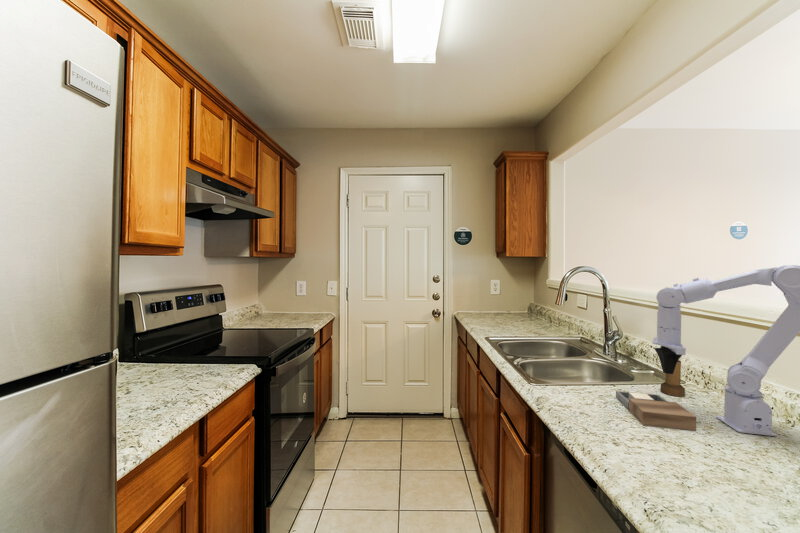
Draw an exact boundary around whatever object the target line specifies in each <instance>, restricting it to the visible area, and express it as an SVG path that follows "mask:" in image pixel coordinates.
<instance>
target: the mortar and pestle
mask: <svg viewBox="0 0 800 533" xmlns="http://www.w3.org/2000/svg"><path fill="white" fill-rule="evenodd" d="M681 367H682V361H681V360H680V359H679V360H678V362H677V364H676V367H675V370H674V373H673V374H665V381H664V382H662V383H661V384H660V392H661V393H663V394H665V395H668V396H673V397H678V398H679V397H680V398H683V397H685V395H686V388H685V387H684V386H683V385H682V384H681V372H682V368H681Z"/></svg>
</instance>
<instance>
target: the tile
mask: <svg viewBox="0 0 800 533" xmlns="http://www.w3.org/2000/svg"><path fill="white" fill-rule="evenodd" d="M628 392H629V391H628ZM630 392H631V391H630ZM630 392H629V398H632V399H643V400H654V399H652V398H651V397H650V396H649V395H647V394H648V393H644V394H641V393H642V392H633V393H630Z"/></svg>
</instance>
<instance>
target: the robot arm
mask: <svg viewBox="0 0 800 533" xmlns="http://www.w3.org/2000/svg"><path fill="white" fill-rule="evenodd" d="M772 284H774V286H776V287H777V289H779V290H780V291H781V292H782V293H783V296H784V298H785V300H786V302H787V304H788V305H787V307H786V308H785V309H784V310H783V312H782V313H781V314H780V315H779V316H778V318H777V319H776V320H775V321H774V323H773V324H772V325H771V326H770V327H769V328H768V330H767V331H766V332H765V334H763V336H761V338H760V339H759V341H758V342H757V343H756V344H755V345H754V346H753V348H752V349H751V350H750V352H749V353H748V354H747V355H745V356H744V357H743V358H742V359H741V360H740V361H739V362H738V363H736V364H733V365H731V366H729V367H728V369H727V378H726V382H727V385H725V386H724V407H723V408H724V409H723V410H724V412H723V413H724V415H716V416H715V418H717V419H718V420H720V421H721V422H723V423H724V424H726V425H727V426H728V427H730V428H732V429H733V430H735V431H736V432H738V433H744V434H751V435H752V434H753V435H761V436H762V435H764V436H770V437H771V436H772V437H776V436H777V434H776V433H775V432H773V410H772V407H771V406H770V405H769V404H768V403H767V402H766V401H765V400H764V398H763V392H762V391H760V390H761V388H762V380H763V379H764V377H765V376H766V374H767V373H768V371H769V369H770V367H771V366H772V365H773V364H774V363H775V361H776V360H777V359H778V358H779V357H780V355H782V354H783V353H784V351H785V350H786V348H788V346H789V345H790V344H791V343H792V342H793V340H794V339H795V338H796V337H797V336H798V335H799V333H800V265H797V264H796V265H795V264H787V265H782V266H778V267H775V266H774V267H769V268H760V269H754V270H750V271H747V272H742V273H739V274H735V275H732V276H728V277H724V278H721V279H716V280H713V281H712V280H710V279H708V278H701V279H700V278H699V277H697V278H696V277H695V278H692V281H689V282H684V283H680V284H678V283H674V284H673V287H668V286H666V287H665V288H662V289H660V290H659V291H657V293H656V301H657V303H658V305H657V312H656V313H657V314H656V315H657V316H656V317H657V318H656V320H657V321H656V337H653V340H652V344H653V345H658V346H660V347H655V348H654V351H655V352H656V354H657V356H658V358H659V362H660V366H661V370H662V373H663V374H665V375H666V374H673V373H674V370H675V367H676V364H677V362H678V360H680V358H682V356H687V355H686V352H687V351H686V347H684V346H683V344H682V312H681V309H682V308H681V307H682V305H681V304H682V303H683V304H686V305H687V304H691V303H696V302H700V301H704V300H705V301H706V300H708V299H713V298H714V297H715V295H716V294H717V292H722V291H726V290H731V289H732V290H733V289H736V288H737V289H738V288H742V287H746V286H752V285H761V286H768V287H772Z"/></svg>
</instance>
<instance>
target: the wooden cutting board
mask: <svg viewBox="0 0 800 533" xmlns="http://www.w3.org/2000/svg"><path fill="white" fill-rule="evenodd" d="M628 411H629V412H630V413H631V415H632V416H634V418H636V419H637V421H639V423H641V425H643V426H648V425H650V426H649V427H657V426H659V427H658V428H666V427H668V429H676V428H677V429H678V430H685V429H686V431H687V430H688V431H697V416H695V415H694V414H693V413H691V412H690V411H689V410H687V409H686V408H685V407H683V406H681V405H680V404H679V403H677V402H674V401H668V402H664V401H654V400H643V399H632V398H629V409H628ZM677 429H676V430H677Z"/></svg>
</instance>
